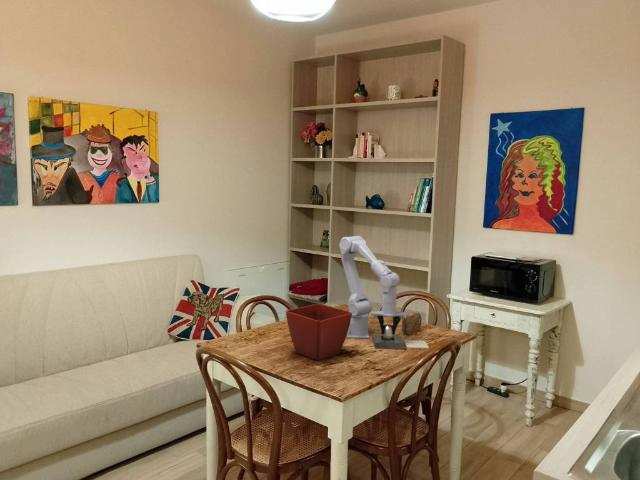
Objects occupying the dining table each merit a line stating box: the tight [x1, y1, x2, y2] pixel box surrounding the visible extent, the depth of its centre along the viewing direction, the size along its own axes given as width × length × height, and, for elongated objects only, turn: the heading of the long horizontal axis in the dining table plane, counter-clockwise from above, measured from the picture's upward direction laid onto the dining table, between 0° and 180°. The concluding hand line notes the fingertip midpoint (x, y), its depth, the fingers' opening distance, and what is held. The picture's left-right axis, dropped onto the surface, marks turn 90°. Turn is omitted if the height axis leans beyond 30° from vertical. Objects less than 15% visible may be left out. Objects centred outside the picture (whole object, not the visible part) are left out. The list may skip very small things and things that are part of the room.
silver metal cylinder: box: [383, 323, 393, 340], centre depth 216 cm, size 4×4×8 cm
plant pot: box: [285, 303, 352, 361], centre depth 202 cm, size 19×19×17 cm
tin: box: [401, 312, 422, 336], centre depth 234 cm, size 15×3×8 cm, turn 143°
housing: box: [371, 333, 405, 350], centre depth 216 cm, size 12×12×2 cm
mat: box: [403, 339, 430, 349], centre depth 216 cm, size 9×9×1 cm
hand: (387, 333), depth 216 cm, fingers closed on silver metal cylinder, 4 cm apart
